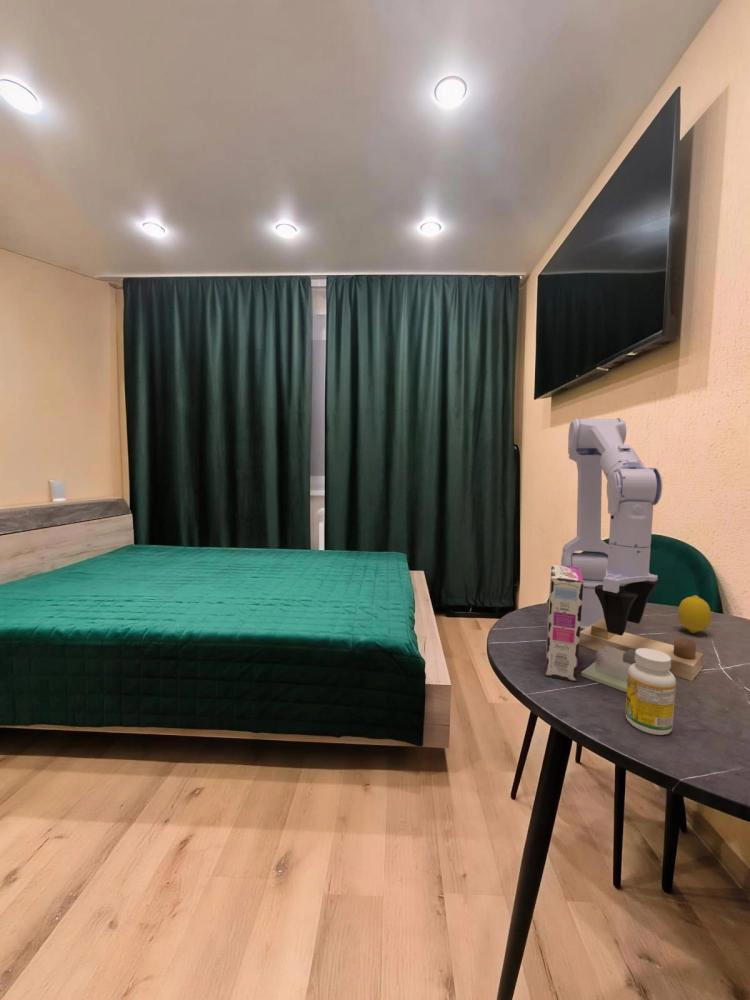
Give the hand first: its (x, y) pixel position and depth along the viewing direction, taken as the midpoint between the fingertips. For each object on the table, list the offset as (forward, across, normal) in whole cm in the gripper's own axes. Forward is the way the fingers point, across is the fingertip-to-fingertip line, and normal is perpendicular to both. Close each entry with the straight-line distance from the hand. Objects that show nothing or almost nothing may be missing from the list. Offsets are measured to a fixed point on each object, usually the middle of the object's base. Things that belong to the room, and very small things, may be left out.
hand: (624, 627), depth 69 cm
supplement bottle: (+9, -11, -7) cm, 16 cm away
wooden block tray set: (+8, +11, +1) cm, 14 cm away
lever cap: (+8, 0, 0) cm, 8 cm away
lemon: (+9, +32, -3) cm, 33 cm away
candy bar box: (+9, -3, +8) cm, 12 cm away
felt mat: (+8, 0, 0) cm, 8 cm away
